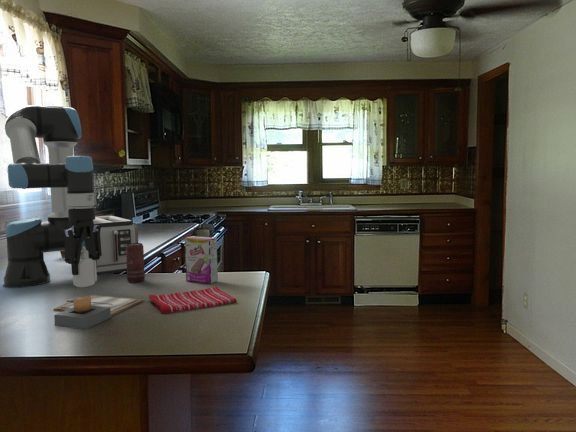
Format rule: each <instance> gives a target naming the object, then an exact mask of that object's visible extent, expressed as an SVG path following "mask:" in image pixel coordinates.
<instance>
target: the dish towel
mask: <svg viewBox="0 0 576 432" xmlns="http://www.w3.org/2000/svg"><path fill="white" fill-rule="evenodd" d="M148 299H149V300H150V302H151V303H152V304H153V305H154V307H155V308H156V309H158V311H159V312H160V314H163V315H164V314H171V313H178V312H179V313H180V312H185V311H192V310H198V309H199V308H200V309H206V307H207V308H213V306H214V307H219V305H220V306H225V304H226V305H231V303H232V304H235V303H237V300H238V299H237V298H235V297H233V296H231V295H230V294H228V293H226V291H224V290H223V291H222V289H220V288H219V287H218V286H211V287H207V288H203V289H198V290H197V289H196V290H191V291H182V292H181V291H180V292H172V293H168V294H166V293H165V294H155V295H154V294H149V296H148Z"/></svg>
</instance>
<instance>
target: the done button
mask: <svg viewBox="0 0 576 432" xmlns="http://www.w3.org/2000/svg"><path fill="white" fill-rule="evenodd" d="M72 299H73V300H74V311H87V310H90V309H91V297H90V296H89V295H86V296H85V295H83V296H77V297H74V298H72Z"/></svg>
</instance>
